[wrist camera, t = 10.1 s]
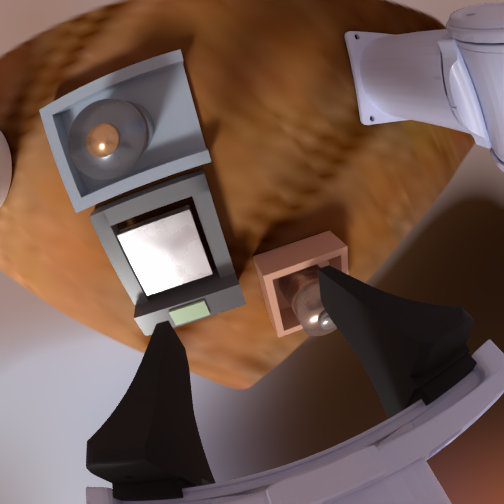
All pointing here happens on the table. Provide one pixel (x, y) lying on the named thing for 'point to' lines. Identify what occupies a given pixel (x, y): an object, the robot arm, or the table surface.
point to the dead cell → (307, 300)
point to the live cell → (109, 137)
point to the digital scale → (185, 295)
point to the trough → (163, 115)
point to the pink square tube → (291, 260)
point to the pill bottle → (4, 168)
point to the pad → (165, 250)
